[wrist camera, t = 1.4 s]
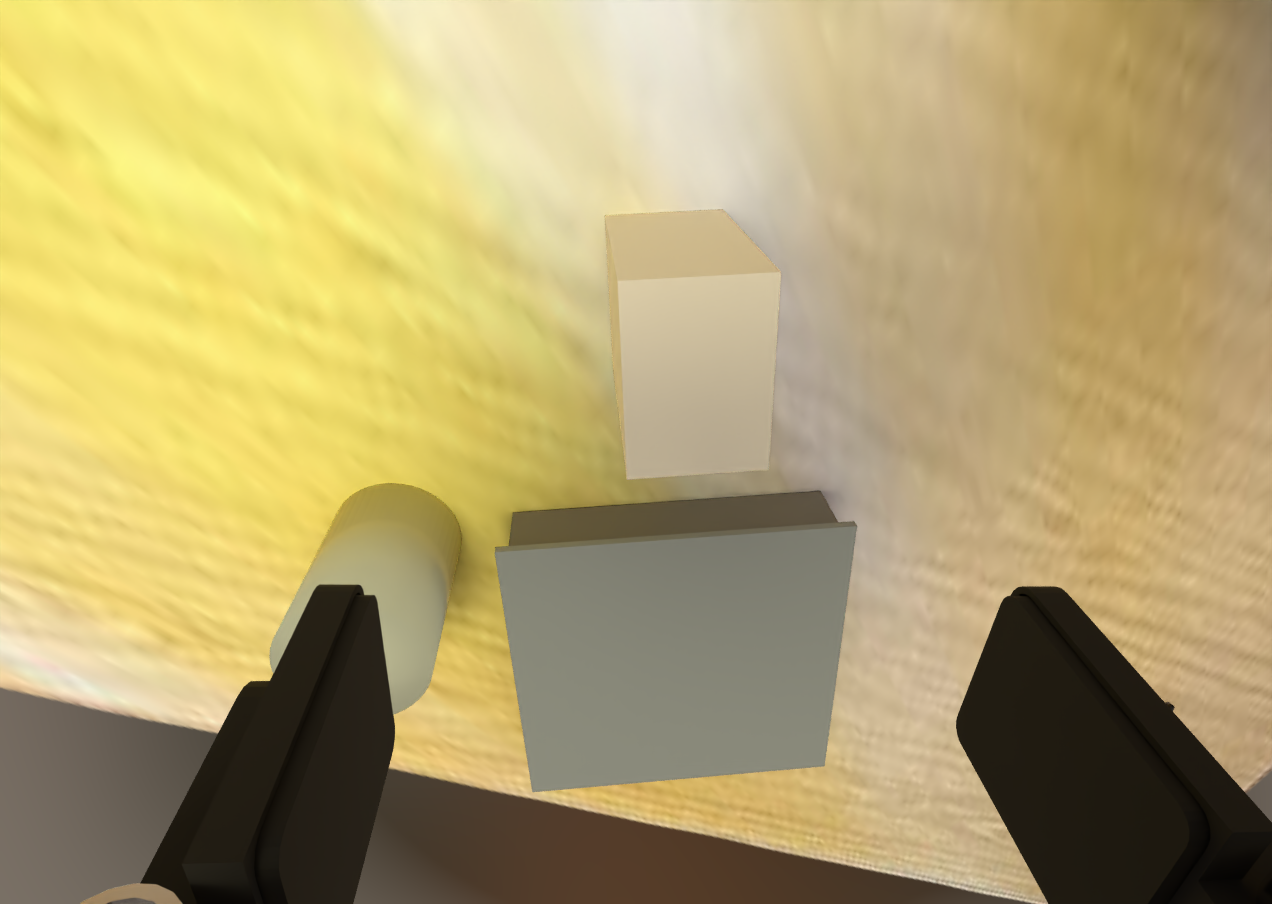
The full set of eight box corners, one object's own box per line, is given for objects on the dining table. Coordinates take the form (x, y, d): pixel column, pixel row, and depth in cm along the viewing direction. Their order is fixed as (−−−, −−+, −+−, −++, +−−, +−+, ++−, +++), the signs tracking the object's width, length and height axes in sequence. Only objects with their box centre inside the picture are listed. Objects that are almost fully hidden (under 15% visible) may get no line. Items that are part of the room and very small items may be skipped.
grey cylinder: (451, 479, 36) (418, 597, 29) (469, 580, 40) (444, 713, 32) (319, 488, 36) (249, 610, 28) (348, 590, 39) (292, 726, 31)
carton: (722, 209, 31) (781, 272, 22) (719, 363, 35) (768, 469, 26) (604, 214, 31) (617, 280, 22) (613, 369, 34) (626, 479, 26)
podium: (830, 482, 38) (857, 526, 35) (805, 712, 46) (824, 766, 43) (502, 505, 37) (494, 552, 34) (535, 734, 46) (532, 792, 42)
